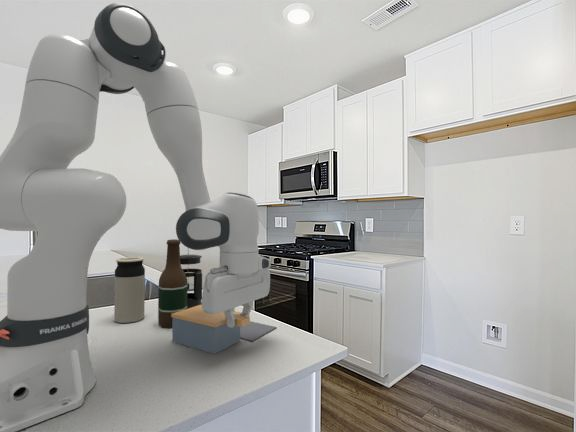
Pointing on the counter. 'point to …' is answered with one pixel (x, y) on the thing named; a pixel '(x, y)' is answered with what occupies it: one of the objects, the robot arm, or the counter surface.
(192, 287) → the french press
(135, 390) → the counter surface
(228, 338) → the tub
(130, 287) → the travel mug
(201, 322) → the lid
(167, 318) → the beer bottle
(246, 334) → the mat
